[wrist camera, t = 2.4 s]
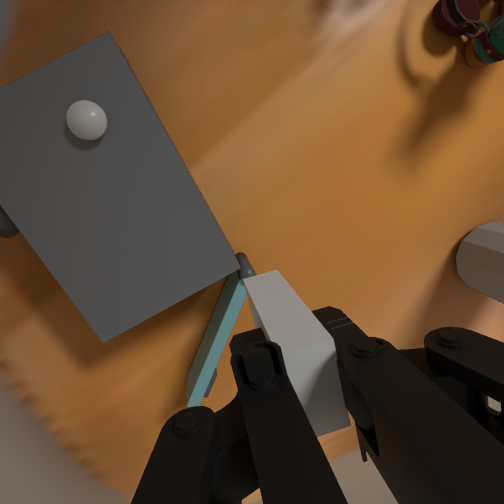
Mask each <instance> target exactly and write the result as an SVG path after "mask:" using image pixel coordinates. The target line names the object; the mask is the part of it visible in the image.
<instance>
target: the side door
mask: <svg viewBox="0 0 504 504" xmlns="http://www.w3.org/2000/svg"><path fill="white" fill-rule="evenodd" d="M235 256H236V258H237V260H238V263H239V265H240V267H241V268H240V269H238V270H236V271H235V272H233V273H231V274H229V276H228V278H227V281H226V283H225V286H224V288H223V290H222V293H221V295H220V298H219V300H218V303H217V305H216V307H215V310H214V312H213V315H212V317H211V320H210V322H209V324H208V327H207V329H206V332H205V334H204V337H203V339H202V341H201V344H200V346H199V349H198V351H197V354H196V356H195V358H194V361H193V363H192V366H191V368H190V371H189V373H188V375H187V406H188V407H193V406H199V405H200V403H201V401H202V398H203V397H206V398H207V397H208V395H209V393H210V390H211V388H212V386H213V383H214V381H215V379H216V376H217V370H216V365H217V363H218V361H219V358H220V356H221V354H222V351H223V349H224V347H225V344H226V342H227V340H228V337H229V335H230V333H231V330H232V328H233V325H234V323H235V321H236V318H237V316H238V314H239V311H240V309H241V307H242V304H243V302H244V300H245V297H246V295H247V294H246V290H245V286H244V282H243V279H245V278H249V277H252V276H256V273H255V271H254V270H253V268H252V266H251V264H250V262H249V260H248V258H247V257H246V255H245V254H244V253H237V254H236V255H235Z"/></svg>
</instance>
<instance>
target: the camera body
mask: <svg viewBox="0 0 504 504" xmlns="http://www.w3.org/2000/svg"><path fill="white" fill-rule="evenodd" d="M20 232H21V234H22V235H23V236H24V238H25V239H26V240H27V242H28V243H29V244H30V246H31V247H32V248H33V250H34V251H35V252H36V254H37V255H38V257H39V258H40V259H41V261H42V262H43V263H44V265H45V266H46V267H47V269H48V270H49V271H50V273H51V274H52V275H53V277H54V278H55V279H56V281H57V282H58V283H59V285H60V286H61V288H62V289H63V290H64V292H65V293H66V294H67V296H68V297H69V298H70V300H71V301H72V302H73V304H74V305H75V306H76V308H77V309H78V310H79V312H80V313H81V315H82V316H83V317H84V319H85V320H86V321H87V323H88V324H89V325H90V327H91V328H92V329H93V331H94V332H95V333H96V335H97V336H98V337H99V339H100V340H101V341H102V343H105V342H107V341H109V340H110V339H112V338H114V337H116V336H118V335H120V334H121V333H123V332H125V331H127V330H129V329H130V328H132V327H134V326H136V325H138V324H140V323H141V322H143V321H145V320H147V319H149V318H151V317H152V316H154V315H156V314H158V313H160V312H162V311H163V310H165V309H167V308H169V307H171V306H173V305H174V304H176V303H178V302H180V301H182V300H183V299H185V298H187V297H189V296H191V295H193V294H194V293H196V292H198V291H200V290H202V289H204V288H205V287H207V286H209V285H211V284H213V283H215V282H216V281H218V280H220V279H222V278H224V277H226V276H227V275H229V274H231V273H233V272H235V271H236V270H238V269H240V268H241V267H240V265H239V263H238V260H237V258H236V256H235V254H234V251H233V249H232V248H231V246H230V244H229V242H228V240H227V239H226V237H225V235H224V233H223V231H222V230H221V228H220V226H219V224H218V222H217V221H216V219H215V217H214V215H213V213H212V212H211V210H210V208H209V206H208V204H207V203H206V201H205V199H204V197H203V195H202V194H201V192H200V190H199V188H198V186H197V185H196V183H195V181H194V179H193V177H192V176H191V174H190V172H189V170H188V168H187V167H186V165H185V163H184V161H183V159H182V158H181V156H180V154H179V152H178V150H177V149H176V147H175V145H174V143H173V141H172V140H171V138H170V136H169V134H168V133H167V131H166V129H165V127H164V125H163V124H162V122H161V120H160V118H159V116H158V115H157V113H156V111H155V109H154V107H153V106H152V104H151V102H150V100H149V98H148V97H147V95H146V93H145V91H144V89H143V88H142V86H141V84H140V82H139V80H138V79H137V77H136V75H135V73H134V71H133V70H132V68H131V66H130V64H129V62H128V61H127V59H126V57H125V55H124V53H123V52H122V50H121V49H120V47H119V46H118V44H117V43H116V41H115V40H114V39H113V37H112V36H111V34H110V33H109V31H108V32H106V33H104V34H102V35H100V36H98V37H96V38H94V39H93V40H91V41H89V42H87V43H85V44H83V45H81V46H79V47H78V48H76V49H74V50H72V51H70V52H68V53H66V54H64V55H62V56H61V57H59V58H57V59H55V60H53V61H51V62H49V63H47V64H46V65H44V66H42V67H40V68H38V69H36V70H34V71H32V72H30V73H29V74H27V75H25V76H23V77H21V78H19V79H17V80H15V81H13V82H12V83H10V84H8V85H6V86H4V87H2V88H0V236H1V237H4V238H10V237H13V236H14V235H16V234H18V233H20Z"/></svg>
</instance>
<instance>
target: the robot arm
mask: <svg viewBox="0 0 504 504" xmlns="http://www.w3.org/2000/svg"><path fill="white" fill-rule="evenodd" d="M243 282H244V286H245V290H246V294H247V297H248V301H249V305H250V309H251V313H252V317H253V321H254V325H255V329H254V330H250V331H247V332H243V333H240V334H237V335H234V336H233V338H232V340H231V342H230V344H229V345H230V349H231V354H232V356H231V361H230V363H231V366H232V370H233V373H234V377H235V380H236V384H237V387H238V392H237V395H236V396H235V398H234V399H233V400H232V401H231V402H230V403H229V404H228V405H227V406H225V407H224V408H222V409H221V410H219V411H217V412H215V413H214V412H213V411H212V410H211V408H208V407H205V406H193V407H189V408H186V409H183V410H181V411H179V412H178V413H176V414H174V415H173V416H172V417H171V418H170V419H169V420H167V421H166V423H165V424H164V426H163V428H162V429H161V432H160V434H159V436H158V439H157V441H156V444H155V446H154V449H153V451H152V453H151V456H150V458H149V461H148V463H147V466H146V468H145V470H144V473H143V475H142V478H141V480H140V483H139V485H138V487H137V490H136V492H135V495H134V497H133V500H132V502H131V504H242V500H243V499H244V498H245V497H247V496H248V495H250V494H251V493H253V492H254V491H255V490H257V489H258V488H260V492H261V496H262V501H263V504H348V503H347V501H346V498H345V496H344V494H343V492H342V490H341V488H340V486H339V484H338V481H337V479H336V477H335V475H334V473H333V471H332V469H331V467H330V464H329V462H328V460H327V458H326V456H325V454H324V452H323V449H322V447H321V445H320V443H319V441H318V439H317V437H318V436H321V435H324V434H327V433H330V432H333V431H336V430H339V429H342V428H345V427H348V426H351V424H350V419H349V414H348V411H349V412H350V414H351V416H352V417H353V419H354V420H355V425H356V430H357V435H358V441H359V446H360V451H361V456H362V459H363V462H366V461H367V456H366V451H367V453H368V454H369V456H370V458H371V459H372V461H373V463H374V464H375V466H376V467H377V469H378V471H379V472H380V474H381V476H382V477H383V479H384V480H385V482H386V484H387V485H388V487H389V488H390V490H391V492H392V493H393V495H394V497H395V499H396V500H397V502H398V503H399V504H504V343H503V342H500V341H498V340H495V339H493V338H490V337H487V336H485V335H482V334H479V333H477V332H474V331H472V330H468V329H464V328H457V327H446V328H445V327H443V328H439V329H436V330H433V331H431V332H429V333H428V334H427V335H426V336H425V338H424V346H425V348H417V349H407V350H397V349H396V348H395V347H394V346H393V345H392V344H391V343H389V342H388V341H386V340H384V339H381V338H377V337H368V336H367V335H366V334H365V333H364V332H363V331H362V330H361V329H360V328H359V327H358V326H357V325H356V324H355V323H353V322H352V320H350V319H349V318H348V317H347V316H346V315H345V314H344V313H343V312H342V311H341V310H339V309H337V308H334V307H331V306H328V307H324V308H321V309H318V310H314V311H310V310H309V308H308V307H307V306H306V305H305V303H304V302H303V301H302V300H301V299H300V297H299V296H298V295H297V294H296V293H295V291H294V290H293V289H292V288H291V286H290V285H289V284H288V283H287V282H286V280H285V279H284V278H283V277H282V275H281V274H280V273H279V272H278V271H277V270H274V271H270V272H267V273H263V274H260V275H256V276H252V277H249V278H245V279H243ZM488 396H489V397H491V398H493V399H494V400H496V401H498V402H500V403H501V412H499V411H496V410H494V409H492V408H490V407H489V406H488Z"/></svg>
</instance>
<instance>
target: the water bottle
mask: <svg viewBox="0 0 504 504" xmlns="http://www.w3.org/2000/svg"><path fill="white" fill-rule="evenodd" d="M456 264H457V272H458V276H459V277H460V278H461V279H462V280H463V281H464V283H465V284H466V285H467V286H468V287H470V288H472V289H474V290H476V291H478V292H480V293H482V294H485V295H487V296H489V297H491V298H493V299H495V300H497V301H499V302H501V303H503V304H504V223H500V222H495V221H493V222H490V223H486V224H483V225H480V226H477V227H475V228H474V229H473V230H472V231H471V232H470V233H469V234H468V235H467V236H466V237H465V238H464V239H463V240H462V241H461V244H460V246H459V249H458V251H457V254H456Z"/></svg>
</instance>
